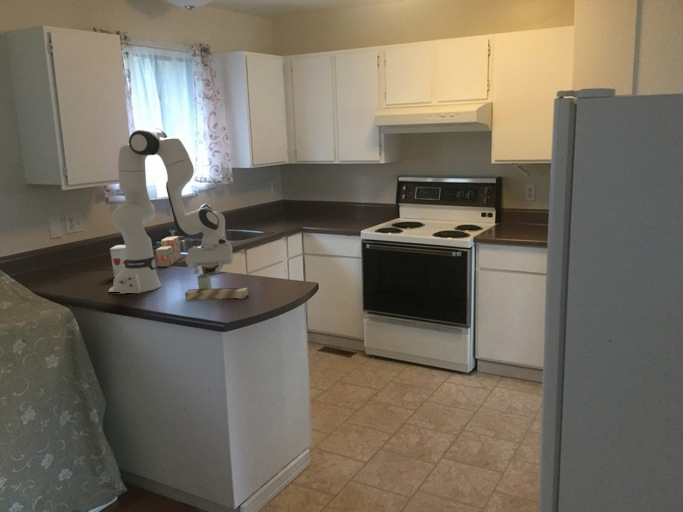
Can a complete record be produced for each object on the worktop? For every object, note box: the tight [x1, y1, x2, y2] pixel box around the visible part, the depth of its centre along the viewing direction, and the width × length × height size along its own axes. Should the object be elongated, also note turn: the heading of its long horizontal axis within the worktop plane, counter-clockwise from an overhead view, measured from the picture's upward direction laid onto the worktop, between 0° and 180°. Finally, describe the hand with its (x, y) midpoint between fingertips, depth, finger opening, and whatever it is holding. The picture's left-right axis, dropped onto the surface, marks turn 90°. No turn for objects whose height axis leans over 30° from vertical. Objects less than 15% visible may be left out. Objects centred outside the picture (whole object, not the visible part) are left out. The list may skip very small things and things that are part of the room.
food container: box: [201, 265, 219, 274], centre depth 294 cm, size 12×6×10 cm, turn 141°
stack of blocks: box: [155, 235, 182, 267], centre depth 323 cm, size 21×6×12 cm, turn 178°
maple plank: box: [184, 287, 249, 301], centre depth 248 cm, size 25×5×3 cm, turn 82°
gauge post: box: [197, 273, 213, 289], centre depth 254 cm, size 4×4×8 cm
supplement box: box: [109, 244, 127, 278], centre depth 297 cm, size 9×9×15 cm
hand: (206, 272), depth 256 cm, fingers open, 8 cm apart
